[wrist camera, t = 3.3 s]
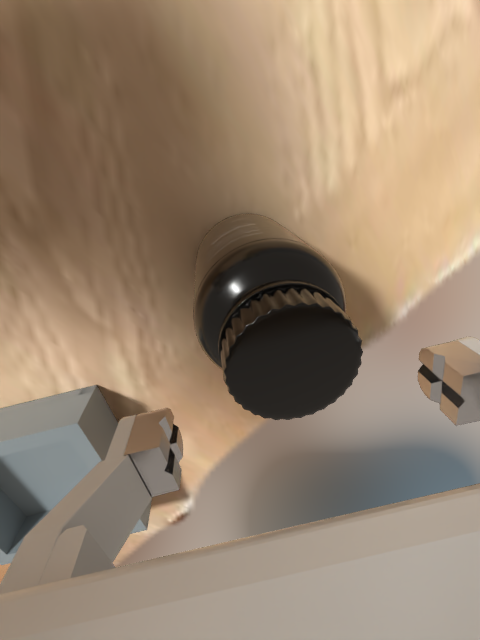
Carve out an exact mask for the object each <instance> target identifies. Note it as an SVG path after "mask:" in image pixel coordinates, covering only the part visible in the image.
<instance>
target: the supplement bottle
mask: <svg viewBox="0 0 480 640" xmlns="http://www.w3.org/2000/svg"><path fill="white" fill-rule="evenodd" d="M193 312H194V326H195V332H196V336H197V338H198V341H199V343H200V345H201V347H202V349H203V351H204V352H205V354H206V355H207V356H208V358H209V359H210V360H211V361H212V362H213V363H214V364H215V365H216V366H218V367H219V368H220V369H221V370H223V377H224V381H225V383H226V385H227V387H228V391H229V393H230V394H231V395H232V396H234V399H235V402H237V403H239V404H241V405H242V407H243V408H244V409H245V410H249V411H251V412H252V413H253V414H254V415H260V416H262V417H263V418H272V419H275V420H279V419H286V420H289V419H292V418H301V417H303V416H305V415H310V414H314V413H315V412H317V411H318V410H322V409H324V408H325V407H327V406H328V405H329V404H331V403H334V402H335V401H336V400H337V398H338V397H340V396H342V395H343V394H344V393H345V391H346V389H347V388H348V387H350V386H351V385H352V382H353V379H354V378H355V377H356V376H357V374H358V368H359V367H360V365H361V356H362V353H363V351H362V349H361V342H362V340H361V339H360V337H359V336H358V330H357V328H356V326H355V325H354V324H353V323H352V322H351V320H350V318H349V317H348V316H347V314H346V297H345V291H344V287H343V284H342V282H341V279H340V277H339V275H338V273H337V272H336V270H335V269H334V267H333V266H332V265H331V264H330V263H329V262H328V260H327V259H326V258H325V257H323V256H322V255H321V254H320V253H318V252H317V251H316V250H315V249H313V248H312V247H310V246H309V245H308V244H306V243H305V242H303V241H302V240H301V239H299V238H298V237H297V236H295V235H294V234H292V233H291V232H290V231H288V230H287V229H286V228H284V227H283V226H281V225H280V224H278V223H277V222H275V221H274V220H272V219H270V218H268V217H265V216H261V215H257V214H239V215H235V216H231V217H229V218H226V219H224V220H222V221H221V222H219V223H218V224H217V225H215V226H214V227H213V228H212V229H211V230H210V231H209V232H208V233H207V234H206V236H205V237H204V239H203V241H202V242H201V245H200V247H199V250H198V253H197V257H196V265H195V285H194V310H193Z"/></svg>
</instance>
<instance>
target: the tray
mask: <svg viewBox="0 0 480 640" xmlns="http://www.w3.org/2000/svg"><path fill="white" fill-rule="evenodd" d="M117 426H118V422H117V420H116V418H115V416H114V415H113V413H112V411H111V409H110V408H109V406H108V404H107V402H106V401H105V399H104V397H103V395H102V394H101V392H100V390H99V388H98V386H97V385H94V386H90V387H86V388H82V389H78V390H74V391H70V392H66V393H62V394H58V395H54V396H50V397H46V398H41V399H37V400H33V401H29V402H25V403H21V404H17V405H13V406H9V407H5V408H1V409H0V564H1V565H4V564H8V563H11V562H12V560H13V558H14V556H15V554H16V552H17V550H18V549H19V547H20V545H21V543H22V541H23V539H24V537H25V536H26V535H27V534H28V533H29V532H30V531H31V530H32V529H33V528H34V527H35V526H36V525H37V524H38V523H39V522H40V521H41V520H42V519H43V518H44V517H45V516H46V515H47V514H48V513H49V512H50V511H51V510H52V509H53V508H54V507H55V506H56V505H57V504H58V503H59V502H60V501H61V500H62V499H63V498H64V497H65V496H66V495H67V494H68V493H69V492H70V491H71V490H72V489H73V488H74V487H75V486H76V485H77V484H78V483H79V482H80V481H81V480H82V479H83V478H84V477H85V476H86V475H87V474H88V473H89V472H90V471H91V470H92V469H93V468H94V467H95V466H96V465H97V464H98V463H99V462H100V461H104V460H105V458H106V456H107V453H108V450H109V447H110V445H111V442H112V439H113V437H114V434H115V431H116V429H117ZM151 498H152V497H151ZM151 502H152V499H151V501H150V503H149V504H148V506H147V507H146V509H145V511H144V512H143V514H142V516H141V517H140V519H139V520H138V522H137V524H136V525H135V527H134V529H133V530H132V532H131V533H136V532H140V531H144V530H147V527H148V521H149V514H150V508H151ZM131 533H130V534H131Z"/></svg>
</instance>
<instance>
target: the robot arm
mask: <svg viewBox="0 0 480 640" xmlns="http://www.w3.org/2000/svg"><path fill="white" fill-rule="evenodd" d="M419 360H420V361H421V363H422V364H423V365H422V366H421V368H420V369H419V370H418V382H419V385H420V387H421V389H422V391H423V392H424V394H425V395H426V396H427V397H428V398H429V399H430V400H432V401H435V402H438V403H440V410H441V411H442V412H443V413H444V414H445V415H446V416H447V417H448V418H449V419H450V420H451V421H452V422H453V423H454V424H455V425H461V424H466V423H471V422H476V421H480V340H478V339H477V338H474V337H465V338H461V339H457V340H454V341H452V342H447V343H443V344H439V345H435V346H431V347H426V348H422V349H421V351H420V353H419ZM173 421H174V416H173V413H172V411H171V409H169V408H164V409H160V410H155V411H150V412H145V413H141V414H138V415H132V416H127V417H123V418H122V419H121V420H120V421H119V423H118V426H117V429H116V431H115V434H114V437H113V439H112V442H111V445H110V447H109V450H108V453H107V456H106V458H105V460H104V461H100V462H99V463H98V464H97V465H96V466H95V467H94V468H93V469H92V470H91V471H90V472H89V473H88V474H87V475H86V476H85V477H84V478H83V479H82V480H81V481H80V482H79V483H78V484H77V485H76V486H75V487H74V488H73V489H72V490H71V491H70V492H69V493H68V494H67V495H66V496H65V497H64V498H63V499H62V500H61V501H60V502H59V503H58V504H57V505H56V506H55V507H54V508H53V509H52V510H51V511H50V512H49V513H48V514H47V515H46V516H45V517H44V518H43V519H42V520H41V521H40V522H39V523H38V524H37V525H36V526H35V527H34V528H33V529H32V530H31V531H30V532H29V533H28V534H27V535H26V536H25V537H24V539H23V541H22V543H21V545H20V547H19V549H18V550H17V552H16V554H15V556H14V558H13V560H12V562H11V564H10V566H9V568H8V570H7V572H6V574H5V576H4V578H3V580H2V582H1V584H0V640H480V484H475V485H471V486H466V487H462V488H458V489H454V490H449V491H445V492H441V493H436V494H432V495H428V496H424V497H419V498H415V499H411V500H407V501H402V502H397V503H393V504H389V505H385V506H380V507H376V508H371V509H367V510H363V511H359V512H354V513H350V514H345V515H341V516H337V517H332V518H328V519H324V520H319V521H315V522H311V523H307V524H302V525H298V526H293V527H289V528H285V529H281V530H276V531H272V532H267V533H263V534H259V535H254V536H251V537H246V538H241V539H237V540H233V541H228V542H224V543H220V544H216V545H211V546H207V547H202V548H198V549H194V550H189V551H185V552H181V553H176V554H172V555H168V556H164V557H159V558H155V559H151V560H146V561H142V562H138V563H133V564H129V565H125V566H120V567H115V566H114V564H113V561H114V559H115V558H116V556H117V555H118V553H119V551H120V550H121V548H122V546H123V545H124V543H125V542H126V540H127V538H128V537H129V535H130V533H131V532H132V530H133V529H134V527H135V525H136V524H137V522H138V520H139V519H140V517H141V516H142V514H143V512H144V511H145V509H146V507H147V506H148V504H149V503H150V501H151V499H152V498H151V497H154V496H158V495H162V494H165V493H169V492H173V491H177V490H180V479H181V468H180V465H179V461H180V460H181V459H182V457H183V442H182V436H181V433H180V430H179V427H177V426H176V425H174V424H173Z"/></svg>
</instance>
